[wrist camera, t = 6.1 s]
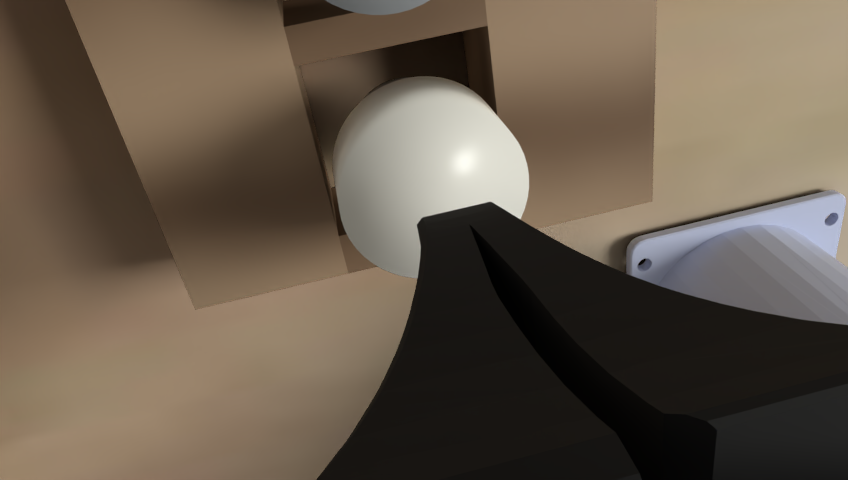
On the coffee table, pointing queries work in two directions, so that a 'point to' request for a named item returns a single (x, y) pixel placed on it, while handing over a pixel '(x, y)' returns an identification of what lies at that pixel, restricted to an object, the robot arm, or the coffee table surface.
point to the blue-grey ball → (377, 6)
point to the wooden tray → (297, 137)
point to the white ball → (420, 165)
